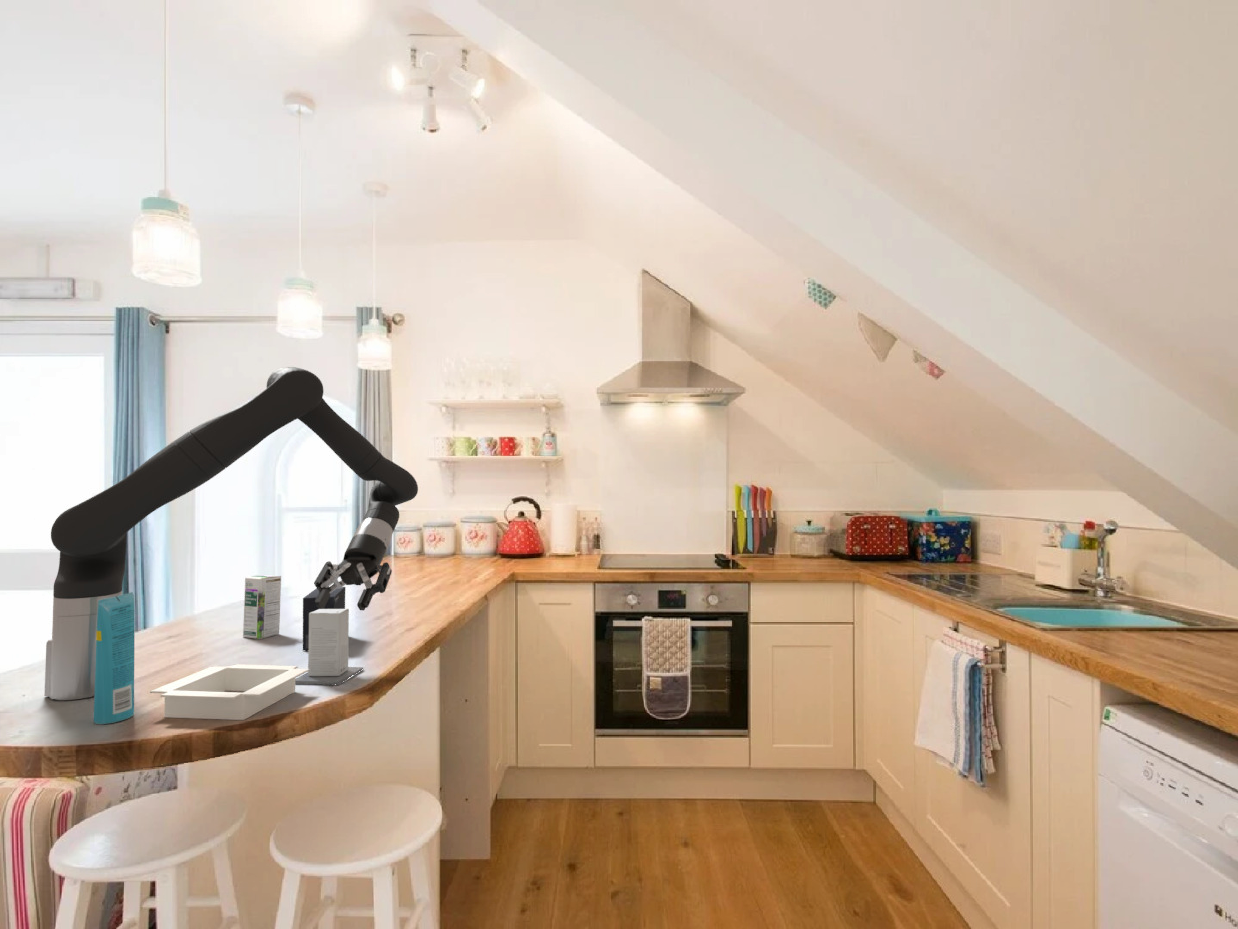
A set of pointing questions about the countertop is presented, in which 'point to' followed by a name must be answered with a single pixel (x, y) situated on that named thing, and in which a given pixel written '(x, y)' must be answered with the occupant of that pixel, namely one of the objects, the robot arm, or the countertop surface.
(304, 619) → the small box
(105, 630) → the tube
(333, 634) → the skincare box
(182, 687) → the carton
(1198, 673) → the countertop surface
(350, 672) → the coaster
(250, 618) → the syrup box
